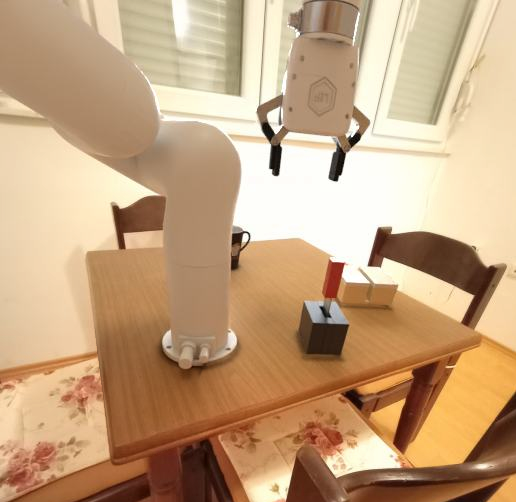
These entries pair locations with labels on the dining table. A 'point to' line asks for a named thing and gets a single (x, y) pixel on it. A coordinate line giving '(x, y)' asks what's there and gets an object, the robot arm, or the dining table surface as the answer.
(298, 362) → the dining table surface
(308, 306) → the knife block
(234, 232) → the coffee mug
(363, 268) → the beige rectangular box
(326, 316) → the knife
